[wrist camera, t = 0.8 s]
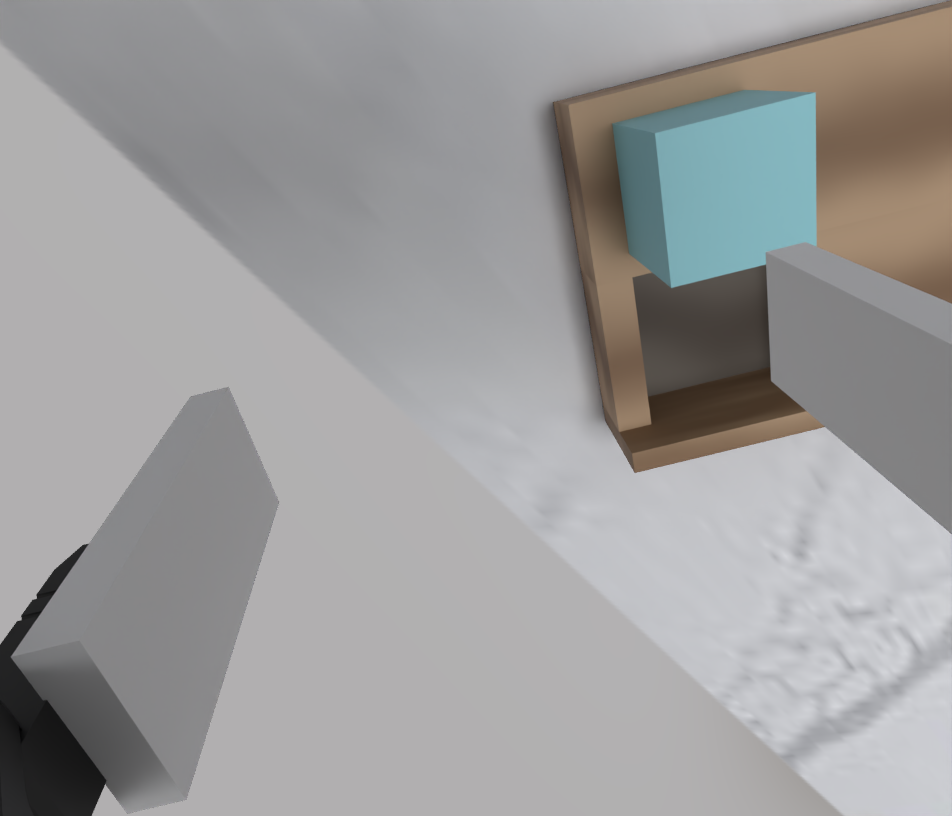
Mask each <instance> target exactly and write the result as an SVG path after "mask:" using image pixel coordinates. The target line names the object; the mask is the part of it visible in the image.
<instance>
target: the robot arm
mask: <svg viewBox="0 0 952 816" xmlns="http://www.w3.org/2000/svg"><path fill="white" fill-rule="evenodd" d="M766 272H767V296H768V320H769V344H770V368H771V381H772V382H773V383H774V384H775V385H776V386H778V387H779V388H780V389H781V390H782V391H784V392H785V393H786V394H787V395H788V396H789V397H791V398H792V399H793V400H794V401H795V402H796V403H798V404H799V405H800V406H801V407H802V408H804V409H805V410H806V411H807V412H808V413H809V414H811V415H812V416H813V417H814V418H815V419H817V420H818V421H819V422H820V423H821V424H822V425H824V426H825V427H826V428H827V429H828V430H829V431H831V432H832V433H833V434H834V435H835V436H837V437H838V438H839V439H840V440H841V441H842V442H844V443H845V444H846V445H847V446H848V447H850V448H851V449H852V450H853V451H854V452H855V453H857V454H858V455H859V456H860V457H861V458H862V459H864V460H865V461H866V462H867V463H868V464H870V465H871V466H872V467H873V468H874V469H875V470H877V471H878V472H879V473H880V474H881V475H883V476H884V477H885V478H886V479H887V480H888V481H890V482H891V483H892V484H893V485H894V486H896V487H897V488H898V489H899V490H900V491H901V492H903V493H904V494H905V495H906V496H907V497H908V498H910V499H911V500H912V501H913V502H914V503H916V504H917V505H918V506H919V507H920V508H921V509H923V510H924V511H925V512H926V513H927V514H929V515H930V516H931V517H932V518H933V519H934V520H936V521H937V522H938V523H939V524H940V525H941V526H943V527H944V528H945V529H946V530H947V531H949V532H950V533H951V534H952V304H951V303H949V302H947V301H944V300H942V299H939V298H937V297H935V296H932V295H930V294H928V293H925V292H923V291H920V290H918V289H916V288H913V287H911V286H909V285H906V284H904V283H901V282H899V281H897V280H894V279H892V278H890V277H887V276H885V275H882V274H880V273H878V272H875V271H873V270H871V269H868V268H866V267H863V266H861V265H859V264H856V263H854V262H852V261H849V260H847V259H844V258H842V257H840V256H837V255H835V254H833V253H830V252H828V251H826V250H823V249H821V248H818V247H816V246H814V245H811V244H809V243H807V242H803V243H800V244H796V245H792V246H788V247H784V248H780V249H776V250H772V251H768V252H766ZM278 504H279V501H278V499H277V496H276V494H275V492H274V489H273V488H272V485H271V482H270V480H269V478H268V476H267V473H266V471H265V469H264V467H263V464H262V462H261V460H260V457H259V455H258V453H257V451H256V448H255V446H254V444H253V441H252V439H251V437H250V435H249V432H248V431H247V428H246V425H245V423H244V421H243V419H242V416H241V414H240V412H239V410H238V407H237V405H236V403H235V400H234V398H233V396H232V394H231V391H230V389H229V387H227V388H223V389H219V390H215V391H211V392H207V393H203V394H199V395H195V396H191V397H190V398H189V400H188V401H187V403H186V404H185V405H184V407H183V408H182V410H181V411H180V413H179V414H178V416H177V417H176V419H175V420H174V421H173V423H172V424H171V426H170V427H169V429H168V430H167V432H166V433H165V435H164V436H163V437H162V439H161V440H160V442H159V443H158V445H157V446H156V447H155V449H154V450H153V452H152V453H151V455H150V456H149V458H148V459H147V461H146V462H145V464H144V465H143V466H142V468H141V469H140V471H139V472H138V474H137V475H136V477H135V478H134V479H133V481H132V482H131V484H130V485H129V487H128V488H127V489H126V491H125V492H124V494H123V495H122V497H121V498H120V500H119V501H118V502H117V504H116V505H115V507H114V508H113V510H112V511H111V513H110V514H109V516H108V517H107V518H106V520H105V521H104V523H103V524H102V526H101V527H100V529H99V530H98V531H97V533H96V534H95V536H94V537H93V539H92V540H91V542H90V543H89V544H86V545H82V546H81V547H80V548H79V549H78V550H77V551H75V553H73V554H72V555H71V556H70V557H69V558H67V559H66V560H65V561H64V562H63V563H62V564H61V565H59V566H58V567H57V568H56V569H55V570H54V571H53V573H52V574H51V575H50V577H49V578H48V580H47V581H46V582H45V584H44V585H43V586H42V588H41V589H40V591H39V592H38V593H37V599H35V600H32V602H31V603H30V604H29V606H28V607H27V608H26V610H25V611H24V613H23V614H22V616H21V617H22V620H21V621H17V622H16V624H15V625H14V627H13V628H12V629H11V631H10V632H9V633H8V635H7V636H6V638H5V639H4V640H3V642H2V643H1V644H0V816H92V813H93V811H94V808H95V806H96V804H97V802H98V799H99V797H100V795H101V792H102V790H103V788H104V785H105V784H106V786H107V787H108V788H109V790H110V791H111V792H112V794H113V795H114V796H115V798H116V799H117V801H118V802H119V803H120V804H121V806H122V807H123V808H124V810H125V811H126V813H133V812H137V811H141V810H145V809H150V808H154V807H157V806H162V805H167V804H170V803H175V802H179V801H183V800H186V799H187V796H188V792H189V789H190V786H191V783H192V780H193V777H194V774H195V770H196V767H197V764H198V761H199V758H200V754H201V751H202V748H203V745H204V742H205V738H206V735H207V732H208V729H209V725H210V722H211V719H212V716H213V713H214V709H215V706H216V703H217V700H218V697H219V693H220V690H221V687H222V684H223V681H224V677H225V674H226V671H227V668H228V665H229V661H230V658H231V655H232V652H233V648H234V645H235V642H236V639H237V635H238V632H239V629H240V626H241V623H242V620H243V616H244V613H245V610H246V607H247V604H248V600H249V597H250V594H251V591H252V587H253V584H254V581H255V578H256V575H257V571H258V568H259V565H260V562H261V559H262V555H263V552H264V549H265V546H266V543H267V539H268V536H269V533H270V530H271V526H272V523H273V520H274V517H275V514H276V510H277V507H278Z"/></svg>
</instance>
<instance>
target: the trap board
mask: <svg viewBox="0 0 952 816" xmlns="http://www.w3.org/2000/svg"><path fill="white" fill-rule="evenodd" d="M741 90H763V91H791V92H816V223H817V247H818V248H821V249H823V250H826V251H828V252H830V253H833V254H835V255H837V256H840V257H842V258H844V259H847V260H849V261H852V262H854V263H856V264H859V265H861V266H863V267H866V268H868V269H871V270H873V271H875V272H878V273H880V274H882V275H885V276H887V277H890V278H892V279H894V280H897V281H899V282H901V283H904V284H906V285H909V286H911V287H913V288H916V289H918V290H920V291H923V292H925V293H928V294H930V295H932V296H935V297H937V298H939V299H942V300H944V301H947V302H949V303H951V304H952V0H950V1H946V2H942V3H939V4H935V5H931V6H927V7H923V8H919V9H915V10H911V11H907V12H903V13H900V14H896V15H892V16H888V17H884V18H880V19H876V20H872V21H868V22H864V23H860V24H857V25H853V26H849V27H845V28H841V29H837V30H833V31H829V32H825V33H821V34H818V35H814V36H810V37H806V38H802V39H798V40H794V41H790V42H786V43H782V44H779V45H775V46H771V47H767V48H763V49H759V50H755V51H751V52H747V53H743V54H740V55H736V56H732V57H728V58H724V59H720V60H716V61H712V62H708V63H704V64H701V65H697V66H693V67H689V68H685V69H681V70H677V71H673V72H669V73H665V74H662V75H658V76H654V77H650V78H646V79H642V80H638V81H634V82H630V83H626V84H623V85H619V86H615V87H611V88H607V89H603V90H599V91H595V92H591V93H587V94H583V95H580V96H576V97H572V98H568V99H564V100H560V101H556V102H553V104H554V110H555V116H556V122H557V128H558V134H559V141H560V147H561V153H562V159H563V165H564V171H565V177H566V183H567V189H568V195H569V201H570V207H571V213H572V220H573V226H574V232H575V238H576V244H577V250H578V256H579V262H580V268H581V274H582V280H583V286H584V293H585V299H586V305H587V311H588V317H589V323H590V329H591V335H592V341H593V347H594V353H595V359H596V366H597V372H598V378H599V384H600V390H601V396H602V402H603V408H604V414H605V420H606V423H607V425H608V426H609V428H610V430H611V432H612V433H613V435H614V437H615V439H616V440H617V442H618V444H619V446H620V448H621V449H622V451H623V453H624V455H625V456H626V458H627V460H628V462H629V464H630V465H631V467H632V469H633V471H634V472H635V473H637V472H641V471H645V470H649V469H653V468H657V467H661V466H665V465H670V464H674V463H678V462H682V461H686V460H690V459H694V458H699V457H703V456H707V455H711V454H715V453H719V452H723V451H727V450H732V449H736V448H740V447H744V446H748V445H752V444H756V443H760V442H765V441H769V440H773V439H777V438H781V437H785V436H789V435H794V434H798V433H802V432H806V431H810V430H814V429H818V428H822V427H825V426H824V425H822V424H821V423H820V422H819V421H818V420H817V419H815V418H814V417H813V416H812V415H811V414H809V413H808V412H807V411H806V410H805V409H804V408H802V407H801V406H800V405H799V404H798V403H796V402H795V401H794V400H793V399H792V398H791V397H789V396H788V395H787V394H786V393H785V392H784V391H782V390H781V389H780V388H779V387H778V386H776V385H775V384H774V383H773V382H772V381H771V368H770V344H769V320H768V296H767V272H766V265H762V266H758V267H754V268H750V269H745V270H741V271H737V272H733V273H729V274H725V275H721V276H717V277H713V278H709V279H705V280H701V281H697V282H693V283H689V284H685V285H681V286H677V287H673V288H671V287H669V286H668V285H667V284H666V283H665V282H663V281H662V280H661V279H660V278H658V277H657V276H656V275H655V274H653V273H652V272H651V271H650V270H649V269H647V268H646V267H645V266H644V265H642V264H641V263H640V262H639V261H637V260H636V259H635V258H634V257H632V256H631V255H630V254H629V248H628V241H627V233H626V225H625V218H624V210H623V202H622V195H621V187H620V180H619V172H618V164H617V157H616V149H615V141H614V134H613V126H612V123H616V122H620V121H624V120H628V119H632V118H636V117H639V116H643V115H647V114H651V113H655V112H659V111H663V110H667V109H671V108H675V107H679V106H683V105H687V104H690V103H694V102H698V101H702V100H706V99H710V98H714V97H718V96H722V95H726V94H730V93H734V92H738V91H741Z"/></svg>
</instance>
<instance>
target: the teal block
mask: <svg viewBox="0 0 952 816" xmlns="http://www.w3.org/2000/svg"><path fill="white" fill-rule="evenodd" d="M612 126H613V134H614V141H615V149H616V157H617V164H618V172H619V180H620V187H621V195H622V202H623V210H624V218H625V225H626V233H627V241H628V248H629V254H630V255H631V256H632V257H634V258H635V259H636V260H637V261H639V262H640V263H641V264H642V265H644V266H645V267H646V268H647V269H649V270H650V271H651V272H652V273H653V274H655V275H656V276H657V277H658V278H660V279H661V280H662V281H663V282H665V283H666V284H667V285H668V286H669V287H671V288H673V287H677V286H681V285H685V284H689V283H693V282H697V281H701V280H705V279H709V278H713V277H717V276H721V275H725V274H729V273H733V272H737V271H741V270H745V269H750V268H754V267H758V266H762V265H766V252H768V251H772V250H776V249H780V248H784V247H788V246H792V245H796V244H800V243H803V242H807V243H809V244H811V245H814V246H816V247H817V223H816V92H791V91H763V90H741V91H738V92H734V93H730V94H726V95H722V96H718V97H714V98H710V99H706V100H702V101H698V102H694V103H690V104H687V105H683V106H679V107H675V108H671V109H667V110H663V111H659V112H655V113H651V114H647V115H643V116H639V117H636V118H632V119H628V120H624V121H620V122H616V123H612Z"/></svg>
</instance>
